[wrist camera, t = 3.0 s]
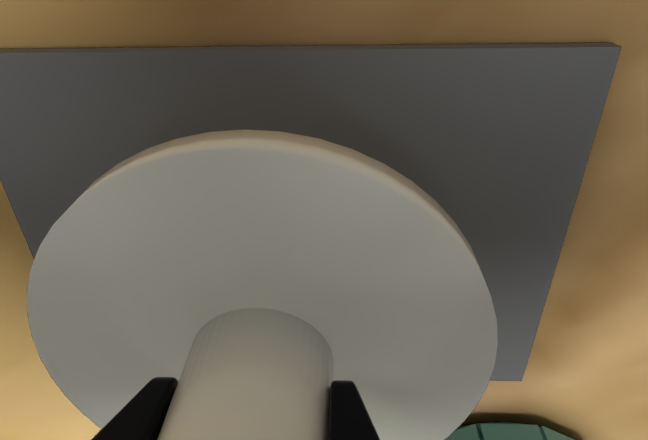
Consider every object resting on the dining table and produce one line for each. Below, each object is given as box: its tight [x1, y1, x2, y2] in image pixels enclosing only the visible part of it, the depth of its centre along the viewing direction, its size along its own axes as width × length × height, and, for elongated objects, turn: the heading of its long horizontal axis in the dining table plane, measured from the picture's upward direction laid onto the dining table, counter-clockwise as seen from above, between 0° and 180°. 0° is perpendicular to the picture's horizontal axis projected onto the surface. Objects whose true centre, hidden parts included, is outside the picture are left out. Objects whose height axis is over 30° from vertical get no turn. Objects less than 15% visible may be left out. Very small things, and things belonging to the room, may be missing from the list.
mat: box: [0, 43, 622, 381], centre depth 13 cm, size 14×10×1 cm
